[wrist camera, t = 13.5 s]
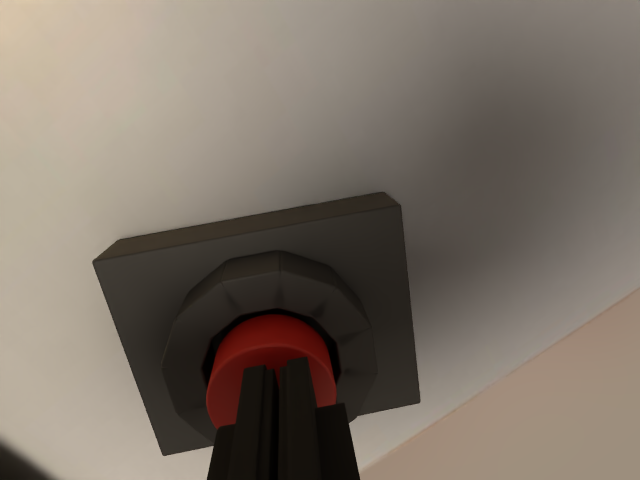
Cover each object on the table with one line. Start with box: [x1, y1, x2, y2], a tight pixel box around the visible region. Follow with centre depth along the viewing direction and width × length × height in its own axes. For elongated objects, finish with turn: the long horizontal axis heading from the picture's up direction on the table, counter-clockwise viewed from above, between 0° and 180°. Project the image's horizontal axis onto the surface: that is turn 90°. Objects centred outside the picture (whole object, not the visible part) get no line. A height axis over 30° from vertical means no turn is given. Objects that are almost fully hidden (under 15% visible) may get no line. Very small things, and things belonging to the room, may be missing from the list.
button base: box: [93, 192, 420, 456], centre depth 15 cm, size 10×8×4 cm
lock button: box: [206, 314, 337, 430], centre depth 12 cm, size 4×4×2 cm
